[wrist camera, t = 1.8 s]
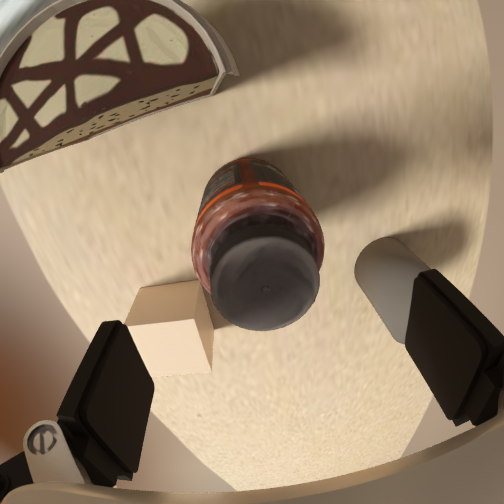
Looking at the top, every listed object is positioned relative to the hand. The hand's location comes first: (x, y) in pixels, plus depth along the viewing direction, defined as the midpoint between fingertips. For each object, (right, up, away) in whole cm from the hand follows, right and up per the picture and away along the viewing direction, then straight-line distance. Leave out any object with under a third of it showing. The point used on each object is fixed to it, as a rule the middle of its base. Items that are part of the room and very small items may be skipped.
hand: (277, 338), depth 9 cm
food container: (-8, +14, +8) cm, 18 cm away
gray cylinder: (+10, +2, +15) cm, 18 cm away
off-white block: (-7, -2, +15) cm, 17 cm away
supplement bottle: (-1, +6, +12) cm, 14 cm away
